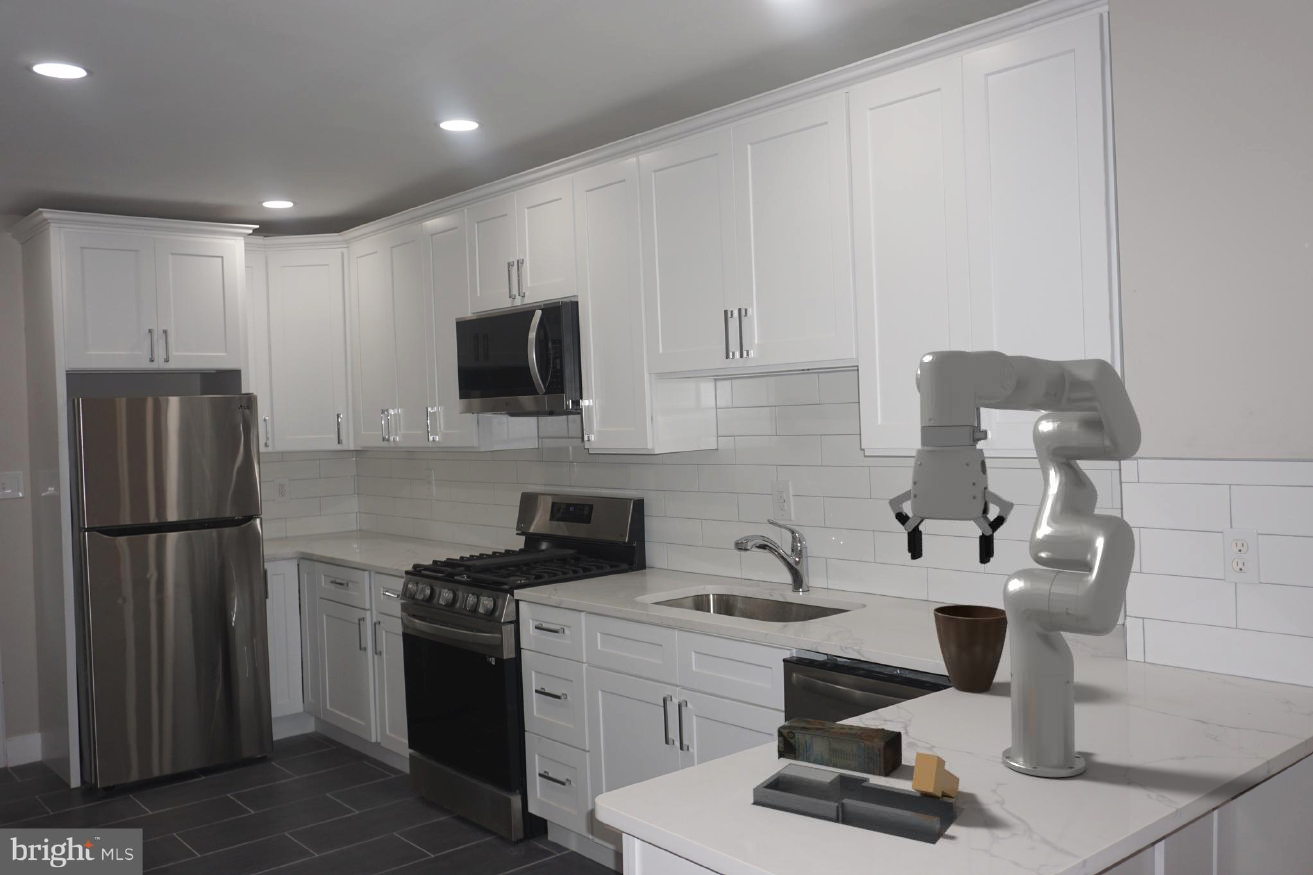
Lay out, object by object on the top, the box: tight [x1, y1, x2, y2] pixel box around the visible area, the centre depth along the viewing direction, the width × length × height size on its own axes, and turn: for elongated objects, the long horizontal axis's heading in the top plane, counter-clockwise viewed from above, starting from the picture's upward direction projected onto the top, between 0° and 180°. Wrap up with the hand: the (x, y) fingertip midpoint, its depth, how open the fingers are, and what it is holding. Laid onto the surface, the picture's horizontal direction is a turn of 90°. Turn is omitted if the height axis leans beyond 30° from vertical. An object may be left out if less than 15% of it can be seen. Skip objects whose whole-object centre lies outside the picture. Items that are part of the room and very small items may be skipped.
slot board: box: [751, 762, 966, 845], centre depth 143 cm, size 14×27×3 cm, turn 57°
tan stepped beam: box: [911, 752, 960, 798], centre depth 144 cm, size 5×3×12 cm
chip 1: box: [779, 763, 815, 796], centre depth 149 cm, size 4×4×4 cm
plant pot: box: [932, 604, 1008, 693], centre depth 207 cm, size 15×15×16 cm
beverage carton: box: [776, 716, 903, 778], centre depth 163 cm, size 8×19×7 cm, turn 57°
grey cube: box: [803, 769, 841, 803], centre depth 146 cm, size 4×4×4 cm
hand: (950, 560), depth 140 cm, fingers open, 9 cm apart
